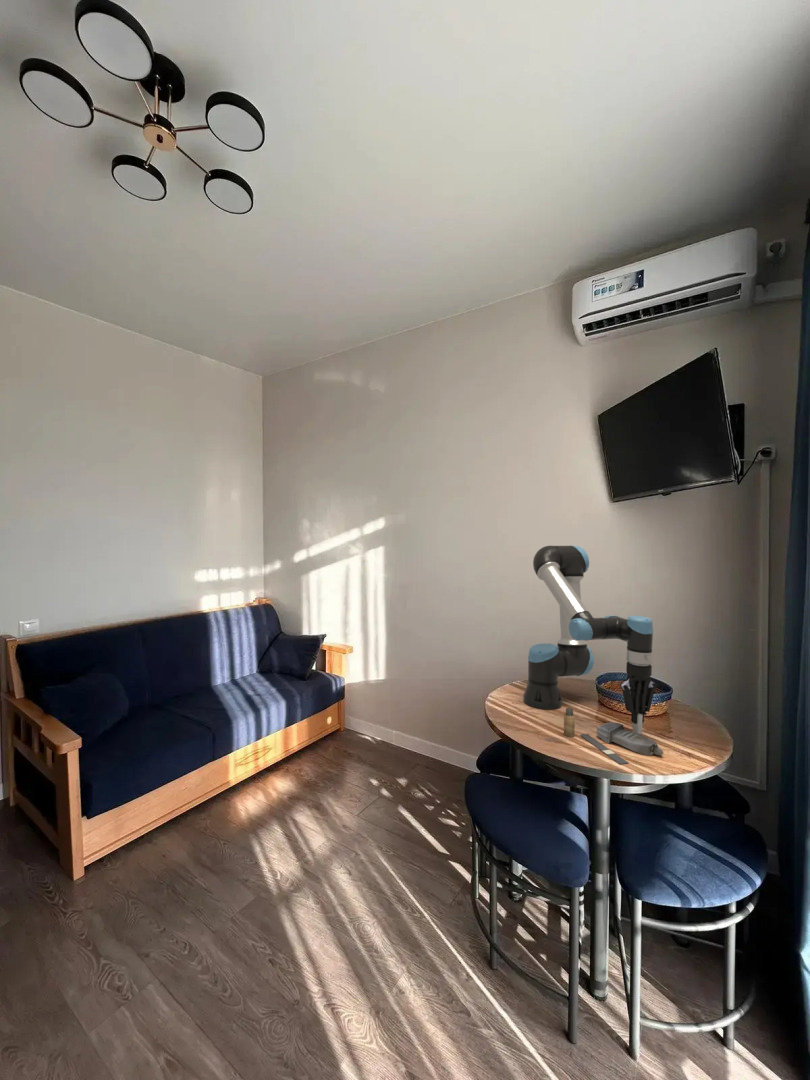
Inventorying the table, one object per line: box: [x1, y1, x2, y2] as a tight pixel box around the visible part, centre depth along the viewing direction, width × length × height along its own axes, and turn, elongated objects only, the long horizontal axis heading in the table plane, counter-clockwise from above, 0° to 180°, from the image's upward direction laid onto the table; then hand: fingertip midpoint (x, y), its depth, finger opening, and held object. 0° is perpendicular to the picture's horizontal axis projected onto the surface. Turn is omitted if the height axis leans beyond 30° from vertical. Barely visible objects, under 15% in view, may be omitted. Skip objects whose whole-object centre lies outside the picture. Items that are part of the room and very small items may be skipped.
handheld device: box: [596, 721, 664, 757], centre depth 146 cm, size 10×20×5 cm, turn 38°
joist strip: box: [579, 733, 629, 765], centre depth 144 cm, size 20×3×1 cm, turn 13°
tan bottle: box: [563, 707, 576, 738], centre depth 154 cm, size 4×4×9 cm
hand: (637, 732), depth 151 cm, fingers closed
